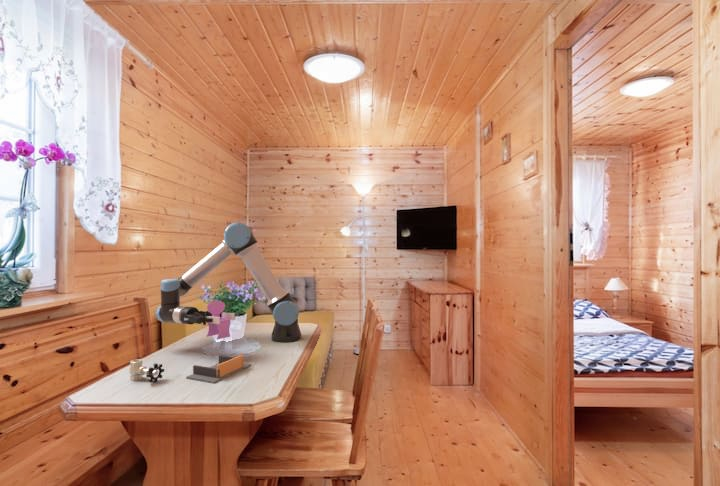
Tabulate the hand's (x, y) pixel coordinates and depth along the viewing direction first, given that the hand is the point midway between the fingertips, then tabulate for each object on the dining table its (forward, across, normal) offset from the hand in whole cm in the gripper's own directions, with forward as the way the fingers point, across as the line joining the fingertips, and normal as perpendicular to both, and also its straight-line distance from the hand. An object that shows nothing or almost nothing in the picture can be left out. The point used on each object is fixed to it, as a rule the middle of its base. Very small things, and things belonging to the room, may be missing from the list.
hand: (227, 318), depth 153 cm
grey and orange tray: (+6, +12, -18) cm, 22 cm away
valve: (-12, +28, -18) cm, 36 cm away
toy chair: (-5, 0, -8) cm, 9 cm away
